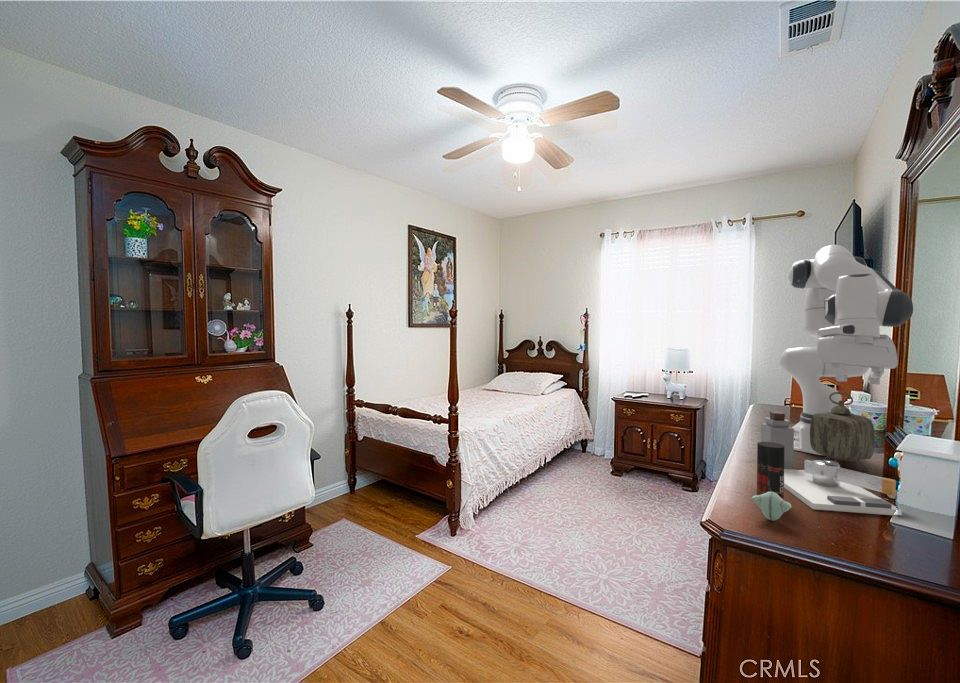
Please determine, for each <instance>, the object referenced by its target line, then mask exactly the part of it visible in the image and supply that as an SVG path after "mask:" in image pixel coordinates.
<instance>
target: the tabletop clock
mask: <svg viewBox="0 0 960 683" xmlns="http://www.w3.org/2000/svg"><path fill="white" fill-rule="evenodd" d="M834 394H841V395H843V396H845V397H846V396H847V397H848V398H849V399H850V402H848V403H845V402H844V401H843V400H842V401H839V403H838V402H835V401H833V400H832V399H831V396H832V395H834ZM829 399H830V401H831V402H833V403H835V404H837V405H839V406H834V407H833V408H832V409H831V412H827V413H817V414H814V415H813V417H812V419H811V423H810V444H811V447H812V449H813V450H814V451H816V452H817V453H819V454H822V455H821V456H824V455H825V457H824V458H823V461H824V460H831V459H834V460H833V461H836V462H838V461H843V462H855V463H856V464H857V465H858V466H859V467H860V468H859V470H860V472H862V473H867V471H868V469H867V468H866V467H865V466H863V465H862V464H861V462H860V461H862V460H869V459H871V458H872V457H873V455H874V452H875V445H876V435H875V433H876V432H875V426H874V423H873V421H872V420H871V419H870V418H869V417H866V416H863V415H860V414H854V413H851V410H850V409H849V408H848V407H847V406H850V405H852V404H853V403H854V399H853V396H852V395H850V394H849V393H845V392H843V391H841V392H840V391H838V392H834V393H832V394H830V396H829Z"/></svg>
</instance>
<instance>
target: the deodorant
mask: <svg viewBox="0 0 960 683" xmlns="http://www.w3.org/2000/svg"><path fill="white" fill-rule="evenodd" d="M784 448H785V446H784V445H782V444H778V443H773V442H761V441H759V442H757V449H756V450H757V451H756V453H757V454H756V456H757V457H756V495H761V494H764V493H767V492H774V493H777V494H778V495H779V497H781V498H782V499H783V500H784V501H785V495H784V494H785V488H784Z"/></svg>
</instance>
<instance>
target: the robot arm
mask: <svg viewBox="0 0 960 683" xmlns="http://www.w3.org/2000/svg"><path fill="white" fill-rule="evenodd" d="M788 279H789V282H790V285H791V286H792V287H793V288H796V289H807V290H806V292H805V298H804V305H803V329H804V332H805V333H806V334H807V335H808V336H810V337H812V338H814V339H817V346H798V347H789V348H786V349H785V350H784V351H783V352H782V353H781V355H780V357H779V364H780V367H781V369H782V370H783V371H784V372H785V373H786V374H788V375H789V376H791V377H792V379H794V380H795V381H796V383H797V384H798V386H799V387H800V391H801V394H802V411H800V414H799V416H800V418H799V422H798V423H796V424H794V425H793V426H792V427H791V428H793V429H794V451H797V452H803V453H808V454H811V455H812V454H813V455H818V456H825V455H822V454H819V453H817V452H816V451H814V450H813V449H812V447H811V444H810V423H811V419H812V417H813V415H814V414H817V413H827V412H831V409H832V408H833V407H834V406H839V405H837V404H835V403H833V402H831V401H830V399H829V396H830V394H832V393H834V392H839V391H838V390H836V389H835V388H833V387H832V386H829V385H826V384H824V383H822V382H821V380H820V378H822V377H825V378H835V380H836V382H845V383H846V382H848V378H854V377H861V376H864V375H865V374H866V373H867V372H868V370H869V369H871V373H872V375H871V377H868V378H867V379H868V384H869V385H875V386H879V385H880V384H881V378H882V377H883V375H884V373H885V370H890V369H896V368H897V366H898V365H899V364H898V363H899V361H898V360H899V359H898V353H897V349H896V348H897V347H896V345H895V344H894V340H893V339H892V338H891V337H890V336H889V335H887V334H881V333H880V332H881V330H880V327H887V328H888V327H892V328H897V327H899V326H901V325H903V324H906V322H907V321H909V320H910V319H911V318H912V316H913V313H914V305H913V300H912V298H911V297H910V296H909V295H908V294H907V293H906V292H904V291H903V290H902V289H901V290H900V289H898V288H897V287H896V286H895V285H894V284H893V283H892V282H891V281H889V279H887V278H886V276H884V274H883V273H881V272H880V271H879V270H877V269H874V268H873V267H869V266H868V265H867V262H866V260H865V259H864V258H863V257H860V256H855V255H853V254H852V252H851V251H850V250H849V249H848V248H846V247H844V246H842V245H839V244H830V245H826V246H824V247H822V248H820V249H819V250H818V251H817V252H816V254H815V255H814V258H810V259H807V258H804V259H801V260H798V261H795V262H794V263H793V264H792V265H791V267H790V269H789V271H788ZM831 399H832V400H833V401H835V402H838V403H839V401H843V399H842V394H834V395H832V396H831ZM825 457H826V456H825Z"/></svg>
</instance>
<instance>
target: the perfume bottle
mask: <svg viewBox="0 0 960 683" xmlns="http://www.w3.org/2000/svg"><path fill="white" fill-rule="evenodd" d="M764 420H765V423H760V442H773V443H778V444H782V445H784V446H785V448H784V469H792V470H794V457H795V456H794V454H795V452H794V451H795V450H794V429H793V428H792V427H791V426H790V424H791V421H790V420H789V419H787V418H786V413H784V412H782V411H769V416H768V417H767V416H766V417H764Z"/></svg>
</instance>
